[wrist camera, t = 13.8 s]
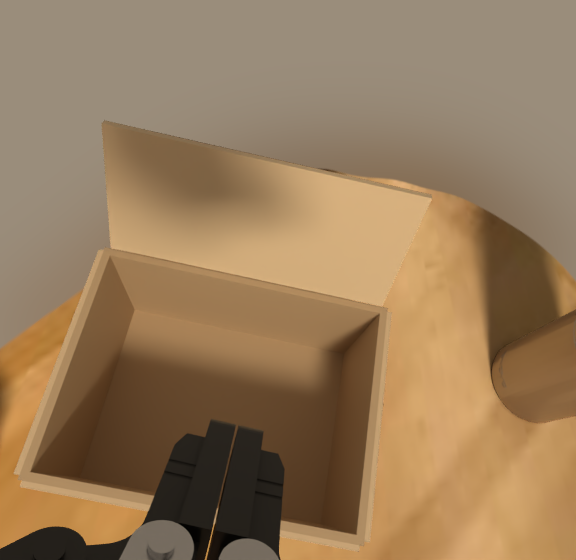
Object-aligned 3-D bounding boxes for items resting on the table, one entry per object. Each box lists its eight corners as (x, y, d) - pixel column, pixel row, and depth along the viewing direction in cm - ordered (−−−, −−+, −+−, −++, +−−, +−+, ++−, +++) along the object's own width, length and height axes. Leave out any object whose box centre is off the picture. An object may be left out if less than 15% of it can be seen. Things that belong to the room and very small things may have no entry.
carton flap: (382, 306, 42) (382, 302, 42) (432, 198, 34) (431, 194, 35) (110, 248, 41) (113, 244, 41) (101, 123, 33) (104, 120, 34)
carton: (351, 352, 55) (392, 309, 42) (328, 537, 47) (368, 553, 34) (128, 305, 53) (100, 246, 41) (67, 487, 46) (9, 484, 33)
